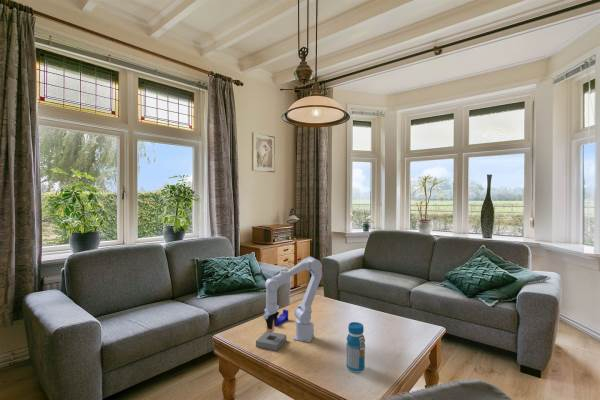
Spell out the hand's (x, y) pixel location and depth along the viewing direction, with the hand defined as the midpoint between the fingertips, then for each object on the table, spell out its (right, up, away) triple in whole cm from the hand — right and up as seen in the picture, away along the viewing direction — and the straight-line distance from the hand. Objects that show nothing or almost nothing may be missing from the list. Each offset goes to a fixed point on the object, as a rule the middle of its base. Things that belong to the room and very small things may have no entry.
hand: (271, 327), depth 164 cm
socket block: (0, -9, 0) cm, 9 cm away
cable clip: (+2, -8, +27) cm, 28 cm away
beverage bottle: (+40, -10, -22) cm, 47 cm away
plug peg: (0, -2, 0) cm, 2 cm away
